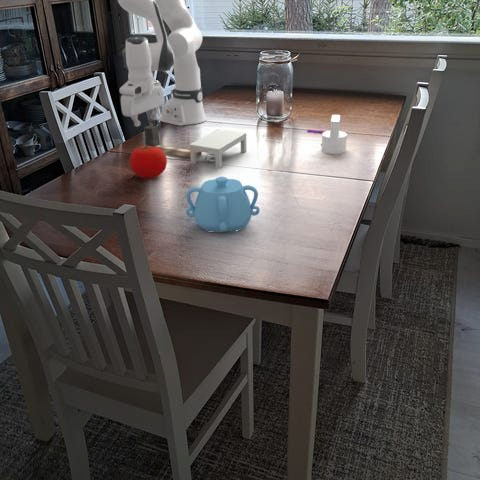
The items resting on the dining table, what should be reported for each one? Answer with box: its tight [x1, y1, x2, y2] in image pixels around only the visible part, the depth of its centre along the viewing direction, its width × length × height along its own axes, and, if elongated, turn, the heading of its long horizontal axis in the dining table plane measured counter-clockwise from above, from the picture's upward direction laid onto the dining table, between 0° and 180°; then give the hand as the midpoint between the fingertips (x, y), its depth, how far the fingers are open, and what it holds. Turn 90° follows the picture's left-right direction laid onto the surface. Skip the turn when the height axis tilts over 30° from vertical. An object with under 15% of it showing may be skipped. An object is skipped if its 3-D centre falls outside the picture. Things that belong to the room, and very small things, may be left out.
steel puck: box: [206, 154, 216, 164], centre depth 185 cm, size 5×5×2 cm
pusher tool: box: [143, 124, 203, 159], centre depth 191 cm, size 22×6×9 cm, turn 62°
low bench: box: [189, 128, 247, 169], centre depth 187 cm, size 12×20×7 cm, turn 152°
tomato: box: [129, 145, 168, 179], centre depth 171 cm, size 11×12×10 cm
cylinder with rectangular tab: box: [321, 114, 348, 155], centre depth 190 cm, size 9×9×12 cm
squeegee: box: [307, 129, 325, 147], centre depth 210 cm, size 29×2×10 cm
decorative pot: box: [185, 176, 261, 233], centre depth 138 cm, size 16×16×14 cm
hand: (146, 122), depth 192 cm, fingers open, 8 cm apart
